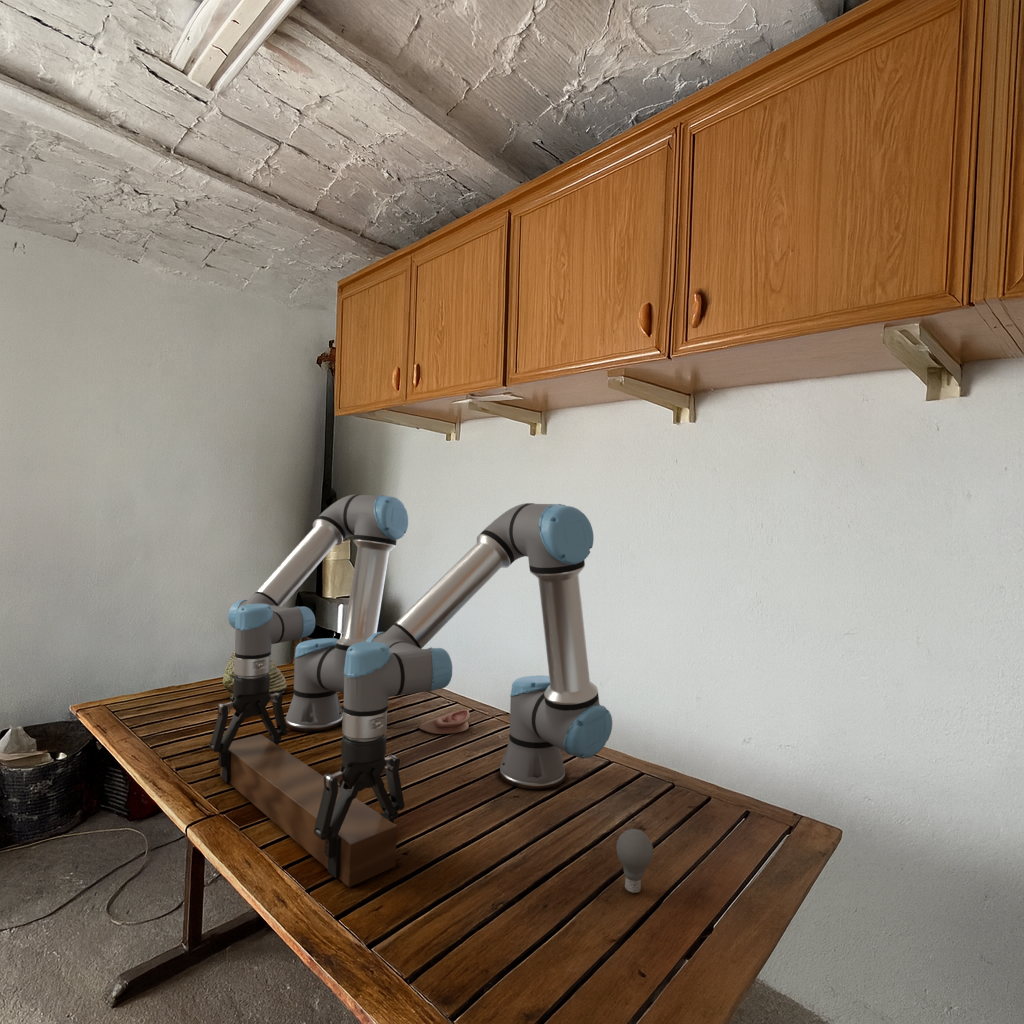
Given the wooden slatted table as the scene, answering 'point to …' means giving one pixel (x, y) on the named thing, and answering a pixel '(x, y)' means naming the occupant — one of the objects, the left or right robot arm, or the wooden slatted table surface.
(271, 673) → the fossil
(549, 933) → the wooden slatted table surface
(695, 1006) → the wooden slatted table surface
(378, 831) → the beam
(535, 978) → the wooden slatted table surface
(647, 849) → the light bulb
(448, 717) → the anatomical model
